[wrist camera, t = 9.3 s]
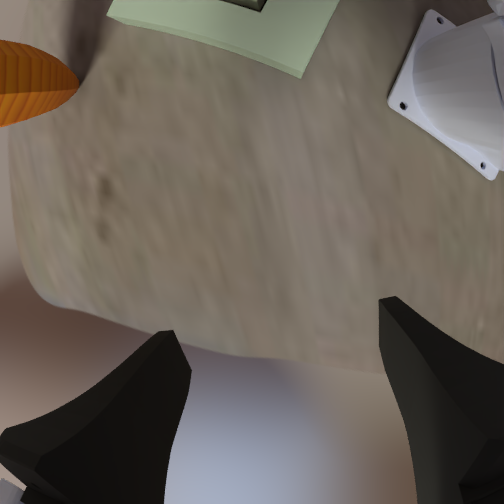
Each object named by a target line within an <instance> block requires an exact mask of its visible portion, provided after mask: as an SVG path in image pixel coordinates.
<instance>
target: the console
mask: <svg viewBox="0 0 504 504" xmlns="http://www.w3.org/2000/svg"><path fill="white" fill-rule="evenodd" d="M339 1H340V0H267V2H266V4H265V6H264V8H263V10H262V11H261V13H260V12H257V11H254V10H251V9H247V8H244V7H241V6H238V5H234V4H231V3H227V2H224V1H220V0H113V2H112V4H111V6H110V8H109V10H108V13H107V15H106V16H109V17H111V18H113V19H115V20H117V21H119V22H122V23H124V24H127V25H133V26H138V27H143V28H148V29H152V30H157V31H161V32H165V33H169V34H173V35H177V36H181V37H185V38H189V39H192V40H196V41H199V42H203V43H206V44H209V45H212V46H216V47H219V48H222V49H225V50H228V51H231V52H234V53H237V54H239V55H242V56H245V57H248V58H250V59H253V60H256V61H258V62H261V63H264V64H266V65H269V66H271V67H274V68H276V69H278V70H281V71H283V72H286V73H288V74H290V75H293V76H295V77H297V78H299V79H301V77H302V75H303V73H304V71H305V69H306V67H307V65H308V63H309V61H310V59H311V57H312V55H313V53H314V51H315V49H316V47H317V45H318V43H319V41H320V39H321V36H322V34H323V32H324V30H325V29H326V27H327V25H328V23H329V21H330V19H331V17H332V15H333V13H334V11H335V9H336V7H337V5H338V3H339Z"/></svg>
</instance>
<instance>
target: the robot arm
mask: <svg viewBox="0 0 504 504" xmlns="http://www.w3.org/2000/svg"><path fill="white" fill-rule="evenodd" d="M487 2H488V4H489V6H490V7H491V8H492V10H493V11H494V12H493V13H490V14H488V15H485V16H482V17H480V18H477V19H475V20H472V21H470V22H467V23H465V24H462V25H460V26H458V27H457V26H455V25H454V24H453V23H452V22H450V21H449V20H447V19H446V18H445V17H443V16H442V15H440V14H439V13H438V12H436V11H434V10H431V9H430V10H428V11H426V12H425V15H424V17H423V19H422V22H421V24H420V27H419V29H418V31H417V34H416V36H415V38H414V41H413V43H412V45H411V47H410V50H409V52H408V54H407V57H406V59H405V61H404V63H403V65H402V68H401V70H400V72H399V74H398V77H397V79H396V81H395V83H394V85H393V87H392V90H391V92H390V94H389V96H388V99H387V103H388V105H389V107H390V108H391V109H393V110H395V111H396V112H398V113H399V114H401V115H403V116H404V117H406V118H407V119H409V120H410V121H412V122H413V123H415V124H416V125H418V126H419V127H421V128H422V129H424V130H425V131H427V132H428V133H429V134H431V135H432V136H434V137H435V138H436V139H438V140H439V141H440V142H442V143H443V144H445V145H446V146H447V147H449V148H450V149H451V150H452V151H454V152H455V153H456V154H458V155H459V156H460V157H461V158H463V159H464V160H465V161H466V162H468V163H469V164H470V165H471V166H473V167H474V168H475V169H476V170H477V171H478V172H480V173H481V174H482V175H483V176H484V177H485V178H487V179H489V180H494V179H495V178H496V176H497V174H498V171H499V170H501V171H504V0H487ZM437 19H439V20H440V21H441V24H440V23H438V21H437ZM401 102H403V103H404V104H405V109H404V110H402V109H401V108H400V103H401ZM482 162H483V167H482V168H481V166H480V165H481V163H482ZM379 348H380V352H381V356H382V360H383V364H384V368H385V371H386V374H387V377H388V379H389V382H390V385H391V387H392V390H393V392H394V395H395V398H396V401H397V403H398V406H399V409H400V411H401V415H402V417H403V420H404V423H405V427H406V431H407V435H408V440H409V445H410V450H411V456H412V461H413V468H414V475H415V482H416V491H417V502H418V504H504V364H502V363H499V362H497V361H495V360H492V359H490V358H488V357H486V356H483V355H481V354H479V353H478V352H476V351H474V350H472V349H470V348H468V347H466V346H465V345H463V344H461V343H459V342H458V341H456V340H455V339H453V338H452V337H450V336H448V335H447V334H445V333H444V332H442V331H441V330H440V329H438V328H437V327H435V326H434V325H432V324H431V323H430V322H428V321H427V320H426V319H424V318H423V317H422V316H421V315H419V314H418V313H417V312H415V311H414V310H413V309H412V308H410V307H409V306H408V305H407V304H405V303H404V302H403V301H402V300H400V299H399V298H398V297H396V296H393V297H388V298H383V299H379ZM191 372H192V370H191V368H190V366H189V364H188V361H187V360H186V357H185V355H184V353H183V351H182V349H181V346H180V344H179V342H178V340H177V337H176V335H175V333H174V331H173V330H168V331H159V332H157V333H156V334H155V335H153V336H152V337H151V338H150V339H148V341H146V342H145V343H144V344H143V345H142V346H140V347H139V349H137V350H136V351H135V352H134V353H133V354H132V355H130V356H129V357H128V358H127V359H126V360H125V361H124V362H123V363H121V364H120V365H119V366H118V367H117V368H116V369H114V370H113V371H112V372H111V373H110V374H108V375H107V376H106V377H105V378H104V379H102V380H101V381H100V382H98V383H97V384H96V385H94V386H93V387H92V388H90V389H89V390H87V391H86V392H84V393H83V394H81V395H80V396H78V397H77V398H75V399H74V400H72V401H70V402H69V403H66V404H65V405H63V406H61V407H60V408H58V409H56V410H54V411H52V412H50V413H48V414H45V415H43V416H41V417H38V418H36V419H33V420H31V421H28V422H25V423H22V424H19V425H16V426H12V427H9V428H6V429H5V430H4V431H3V433H2V434H1V436H0V463H1V464H2V465H3V466H4V467H5V468H6V469H7V470H9V471H10V472H11V473H12V474H13V475H14V476H15V477H16V478H18V479H19V480H20V481H21V482H22V483H24V484H25V485H26V486H27V487H26V489H25V491H23V490H22V489H20V488H19V487H17V486H16V485H14V484H12V483H10V482H8V481H7V480H5V479H1V480H0V504H164V495H165V486H166V478H167V470H168V464H169V459H170V452H171V448H172V445H173V441H174V438H175V435H176V431H177V428H178V425H179V422H180V418H181V415H182V413H183V409H184V406H185V403H186V400H187V396H188V392H189V386H190V379H191Z"/></svg>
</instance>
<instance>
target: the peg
mask: <svg viewBox="0 0 504 504" xmlns="http://www.w3.org/2000/svg"><path fill="white" fill-rule="evenodd" d="M225 1H229V2H232V3H236V4H239V5H242V6H246V7H249V8H252V9H255V10H258V11H260V9H261V7H262V5H263V3H264V1H265V0H225Z"/></svg>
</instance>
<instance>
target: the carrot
mask: <svg viewBox="0 0 504 504" xmlns="http://www.w3.org/2000/svg"><path fill="white" fill-rule="evenodd" d="M78 88H79V80H78V78H77V77H76V75H75V74H74V73H73V72H72V71H71V70H70V69H69V68H68V67H67V66H66V65H64V64H63V63H62V62H61V61H60V60H59V59H58V58H56V57H54V56H52V55H50V54H48V53H46V52H44V51H42V50H39V49H37V48H35V47H32V46H30V45H26V44H21V43H16V42H10V41H5V40H0V127H4V126H8V125H11V124H14V123H17V122H20V121H24V120H27V119H30V118H32V117H35V116H38V115H41V114H43V113H46V112H48V111H51V110H53V109H56V108H57V107H59V106H60V105H62V104H63V103H65V102H66V101H68V100H69V99H70V98H71V97H72V96H73V95H74V94H75V93H76V91H77V90H78Z"/></svg>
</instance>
